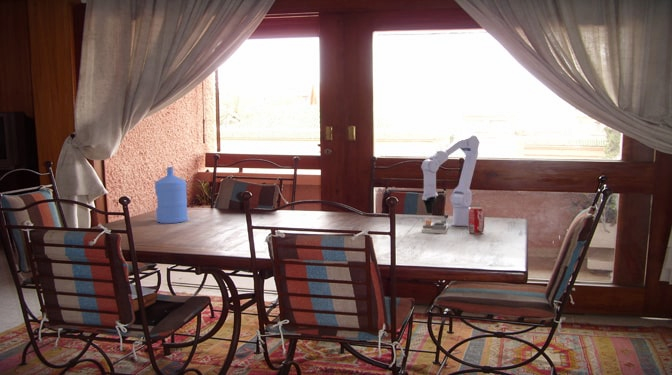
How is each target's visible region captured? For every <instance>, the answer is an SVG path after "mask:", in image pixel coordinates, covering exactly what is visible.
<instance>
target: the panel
mask: <svg viewBox="0 0 672 375" xmlns="http://www.w3.org/2000/svg"><path fill="white" fill-rule="evenodd" d="M443 220H444V219H442V220H441V221H440V222H441V223H444V226H437V225H435V223H436V221H433V222H431V226H428V225H426V221H425V222H424V224H423V225H422V229H421V233H424V234H425V233H428V234H429V233H430V234H447V231H448V229H449V223H447V220H446V221H443Z"/></svg>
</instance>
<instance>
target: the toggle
mask: <svg viewBox="0 0 672 375" xmlns="http://www.w3.org/2000/svg"><path fill="white" fill-rule="evenodd" d="M448 218H449V215H448V214H447V213H446V214H444V216H443V219H442V220H443V221H446V222H447V220H448Z"/></svg>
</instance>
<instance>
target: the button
mask: <svg viewBox="0 0 672 375" xmlns="http://www.w3.org/2000/svg"><path fill="white" fill-rule="evenodd" d="M435 225H437V226H444V223H441V221H440V222H438V221H437V222H435Z"/></svg>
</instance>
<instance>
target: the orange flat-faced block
mask: <svg viewBox="0 0 672 375" xmlns="http://www.w3.org/2000/svg"><path fill="white" fill-rule="evenodd" d="M425 222H426V225H428V226H431V223H432V219H425Z"/></svg>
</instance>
